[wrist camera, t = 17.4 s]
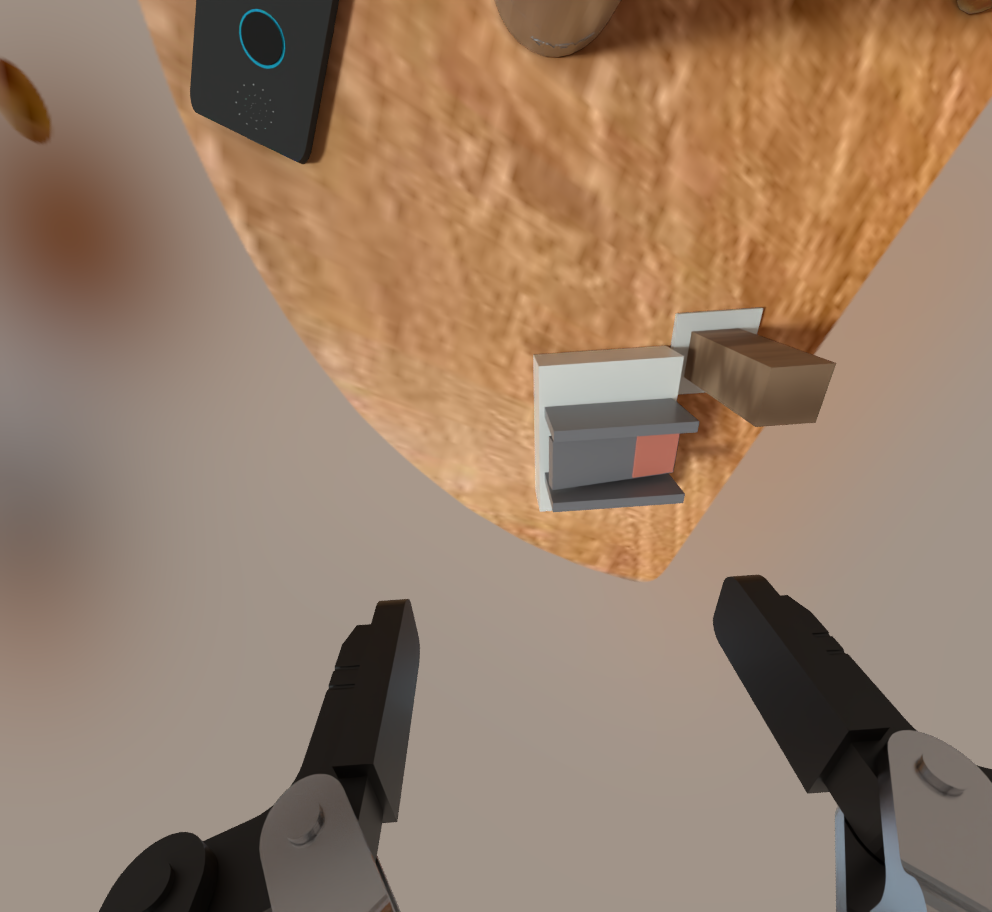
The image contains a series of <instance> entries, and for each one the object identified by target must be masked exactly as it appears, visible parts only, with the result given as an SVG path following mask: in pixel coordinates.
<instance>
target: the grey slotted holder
mask: <svg viewBox="0 0 992 912" xmlns="http://www.w3.org/2000/svg"><path fill="white" fill-rule="evenodd" d="M533 357H534V426H535V491H536V496H537V500H538V505H539V509H540V512H541V511H553V512H562V511H577V510H591V509H605V508H619V507H633V506H647V505H661V504H676V503H683V501H684V496H685V493H684V492H683V491H682V490H681V488H680V487H679V486H678V485H677V483H676V482H675V481H674V480H673V478H672V477H671V476H670V475H669V473H666V474H659V475H652V476H646V477H639V478H632V479H625V480H618V481H611V482H605V483H598V484H591V485H584V486H577V487H570V488H564V489H557V490H552V489H551V487H550V485H549V436H552V439H553V442H565V441H580V440H594V439H608V438H623V437H637V436H651V435H665V434H680V433H694V432H697V431H698V426H699V421H698V420H697V419H696V418H695V417H694V416H693V415H691V414H690V413H689V412H688V411H687V410H685V409H684V408H683V407H682V406H681V405H680V404H678V403H677V396H678V390H679V384H680V378H681V372H682V366H683V360H684V356H683V355H681V354H679V353H678V352H676V351H674V350H672V349H671V348H669V347H667V346H652V347H638V348H623V349H609V350H594V351H580V352H565V353H551V354H536V355H533Z"/></svg>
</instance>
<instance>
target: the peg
mask: <svg viewBox="0 0 992 912" xmlns="http://www.w3.org/2000/svg"><path fill="white" fill-rule="evenodd" d="M835 365H836V363H834V362H831V361H829V360H826V359H823V358H820V357H817V356H815V355H812V354H809V353H807V352H804V351H801V350H798V349H795V348H793V347H790V346H787V345H784V344H782V343H779V342H776V341H773V340H770V339H768V338H765V337H762V336H759V335H757V334H754V333H751V332H748V331H745V330H743V329H740V328H733V329H719V330H705V331H692V332H691V338H690V344H689V350H688V356H687V362H686V368H685V374H684V378H686V379H687V380H689V381H690V382H692V383H693V384H695V385H696V386H697V387H699V388H700V389H702V390H703V391H705V392H706V393H707V394H709V395H710V396H712V397H713V398H715V399H716V400H718V401H719V402H720V403H722V404H723V405H725V406H726V407H728V408H729V409H730V410H732V411H733V412H735V413H736V414H738V415H739V416H741V417H742V418H743V419H745V420H746V421H748V422H749V423H751V424H752V425H754V426H755V427H761V426H775V425H788V424H801V423H815V422H816V419H817V417H818V414H819V411H820V408H821V405H822V402H823V399H824V397H825V394H826V391H827V388H828V385H829V382H830V379H831V377H832V374H833V371H834V368H835Z"/></svg>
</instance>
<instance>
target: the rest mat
mask: <svg viewBox="0 0 992 912" xmlns="http://www.w3.org/2000/svg"><path fill="white" fill-rule="evenodd" d="M762 312H763V308H760V307H759V308H745V309H730V310H715V311H701V312H686V313H676V315H675V321H674V328H673V335H672V342H671V349H672V350H674V351H676V352H678V353H679V354H681V355H683V356H684V360H683V366H682V372H681V378H680V384H679V390H678V394H692V393H706V392H705V391H703V390H702V389H700V388H699V387H697V386H696V385H695V384H693V383H692V382H690V381H689V380H687V379H686V378H684V374H685V368H686V362H687V356H688V350H689V344H690V338H691V332H692V331H705V330H719V329H733V328H740V329H743V330H745V331H748V332H751V333H754V334H757V332H758V328H759V324H760V320H761V316H762Z"/></svg>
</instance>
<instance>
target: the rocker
mask: <svg viewBox="0 0 992 912" xmlns="http://www.w3.org/2000/svg"><path fill="white" fill-rule="evenodd" d="M679 437H680V434H665V435H651V436H637V437H623V438H608V439H594V440H580V441H565V442H553V439H552V436H549V485H550V487H551V489H552V490H557V489H564V488H570V487H577V486H584V485H591V484H598V483H605V482H611V481H618V480H625V479H632V478H639V477H646V476H652V475H659V474H666V473H673V471H674V465H675V460H676V454H677V449H678V443H679Z"/></svg>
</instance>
